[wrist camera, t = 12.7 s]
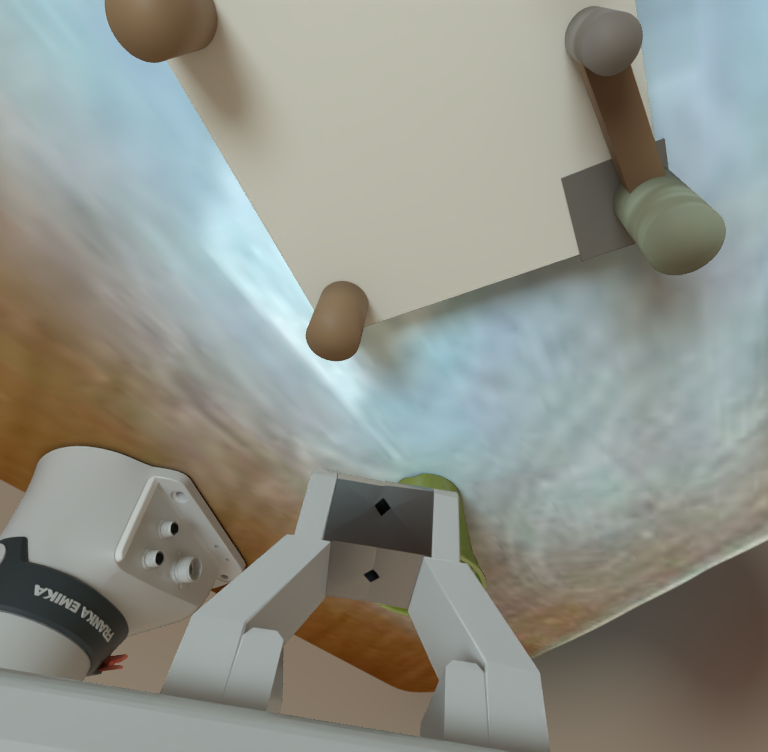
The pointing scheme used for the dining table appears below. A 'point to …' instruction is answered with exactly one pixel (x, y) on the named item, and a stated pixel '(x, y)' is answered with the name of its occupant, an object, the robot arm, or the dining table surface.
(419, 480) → the plant pot
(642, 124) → the swing leg
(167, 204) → the dining table surface
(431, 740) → the robot arm
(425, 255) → the stool seat
